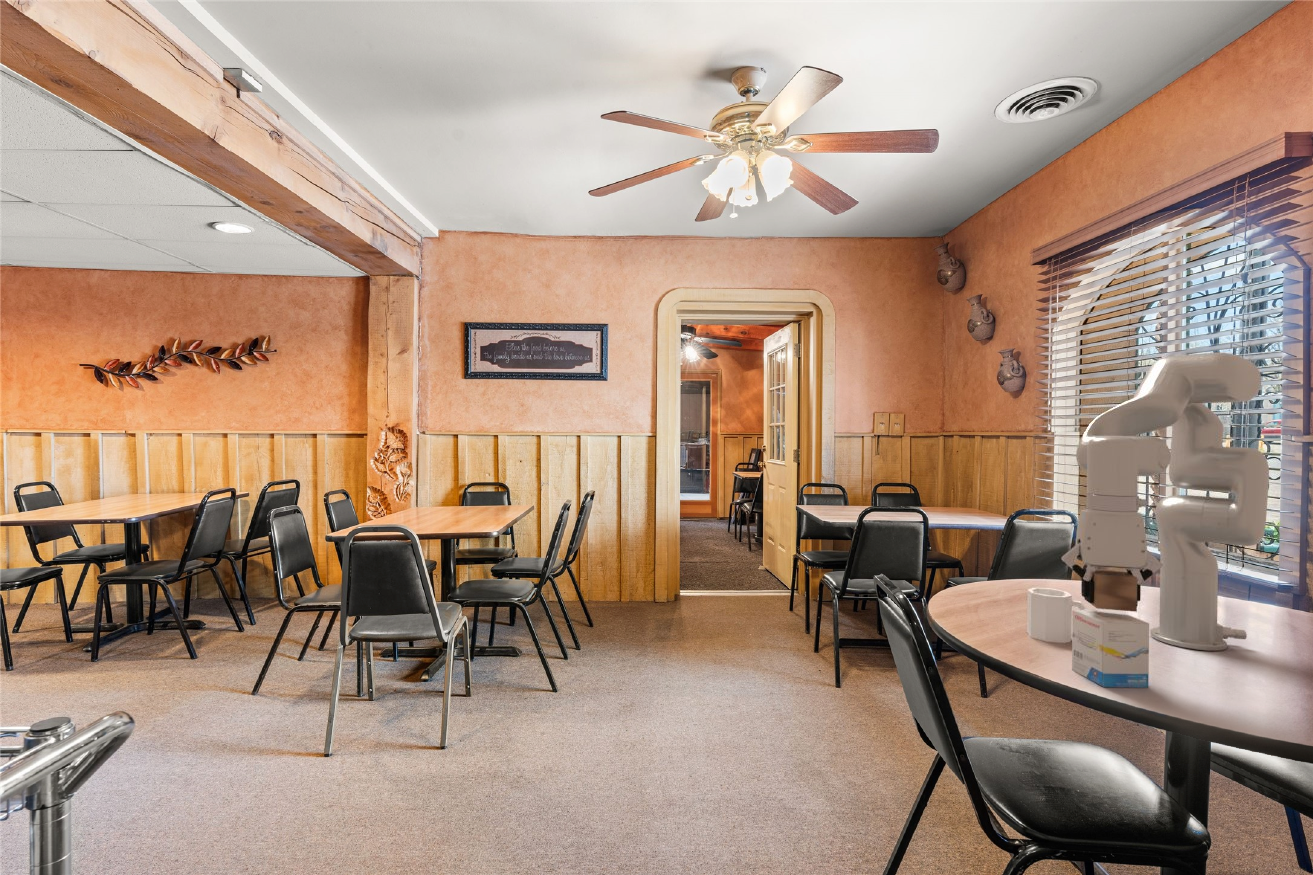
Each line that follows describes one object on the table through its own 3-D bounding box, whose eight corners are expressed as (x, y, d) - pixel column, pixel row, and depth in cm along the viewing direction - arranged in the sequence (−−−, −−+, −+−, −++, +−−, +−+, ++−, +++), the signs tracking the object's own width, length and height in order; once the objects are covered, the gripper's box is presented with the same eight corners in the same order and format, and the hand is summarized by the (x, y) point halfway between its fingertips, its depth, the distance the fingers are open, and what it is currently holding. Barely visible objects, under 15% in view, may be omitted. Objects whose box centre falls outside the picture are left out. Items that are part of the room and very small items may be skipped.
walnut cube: (1123, 602, 116) (1123, 570, 116) (1136, 611, 110) (1137, 577, 110) (1085, 600, 118) (1086, 568, 118) (1097, 608, 112) (1097, 575, 112)
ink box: (1150, 688, 110) (1151, 622, 110) (1102, 687, 110) (1103, 621, 110) (1115, 670, 118) (1116, 608, 118) (1070, 669, 118) (1071, 607, 118)
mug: (1024, 637, 137) (1025, 593, 137) (1029, 628, 144) (1030, 585, 144) (1091, 649, 129) (1091, 602, 129) (1093, 639, 136) (1093, 594, 136)
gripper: (1159, 504, 115) (1157, 602, 115) (1051, 500, 120) (1050, 593, 120) (1178, 509, 108) (1177, 613, 108) (1063, 504, 113) (1062, 603, 113)
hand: (1110, 602), depth 114 cm, fingers closed on walnut cube, 6 cm apart
